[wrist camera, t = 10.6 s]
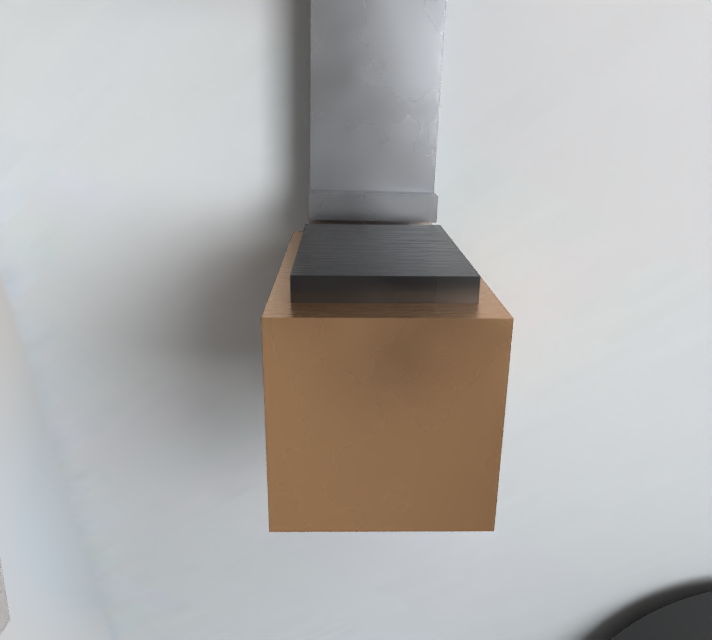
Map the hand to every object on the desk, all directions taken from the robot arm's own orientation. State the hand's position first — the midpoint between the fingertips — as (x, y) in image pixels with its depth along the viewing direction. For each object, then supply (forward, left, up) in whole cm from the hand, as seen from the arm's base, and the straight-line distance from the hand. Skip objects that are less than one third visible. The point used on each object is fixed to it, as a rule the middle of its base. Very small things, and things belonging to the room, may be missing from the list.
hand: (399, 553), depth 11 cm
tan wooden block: (0, 0, -12) cm, 12 cm away
